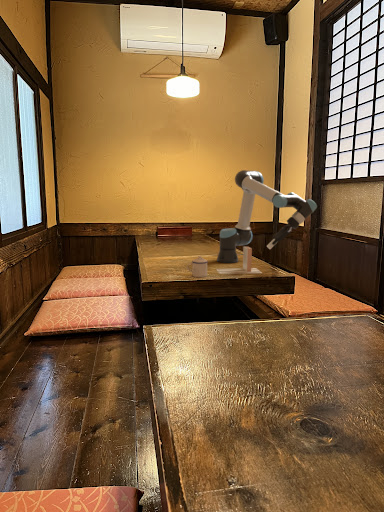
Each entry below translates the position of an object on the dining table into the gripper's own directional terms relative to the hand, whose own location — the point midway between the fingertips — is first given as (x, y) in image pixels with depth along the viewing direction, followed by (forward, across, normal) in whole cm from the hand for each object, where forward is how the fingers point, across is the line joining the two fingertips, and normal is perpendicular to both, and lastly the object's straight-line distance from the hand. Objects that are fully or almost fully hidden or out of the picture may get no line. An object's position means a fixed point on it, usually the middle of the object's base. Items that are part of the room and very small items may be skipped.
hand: (268, 247), depth 225 cm
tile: (+19, +1, -1) cm, 19 cm away
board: (+24, +1, +3) cm, 24 cm away
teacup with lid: (+42, -9, +21) cm, 48 cm away
